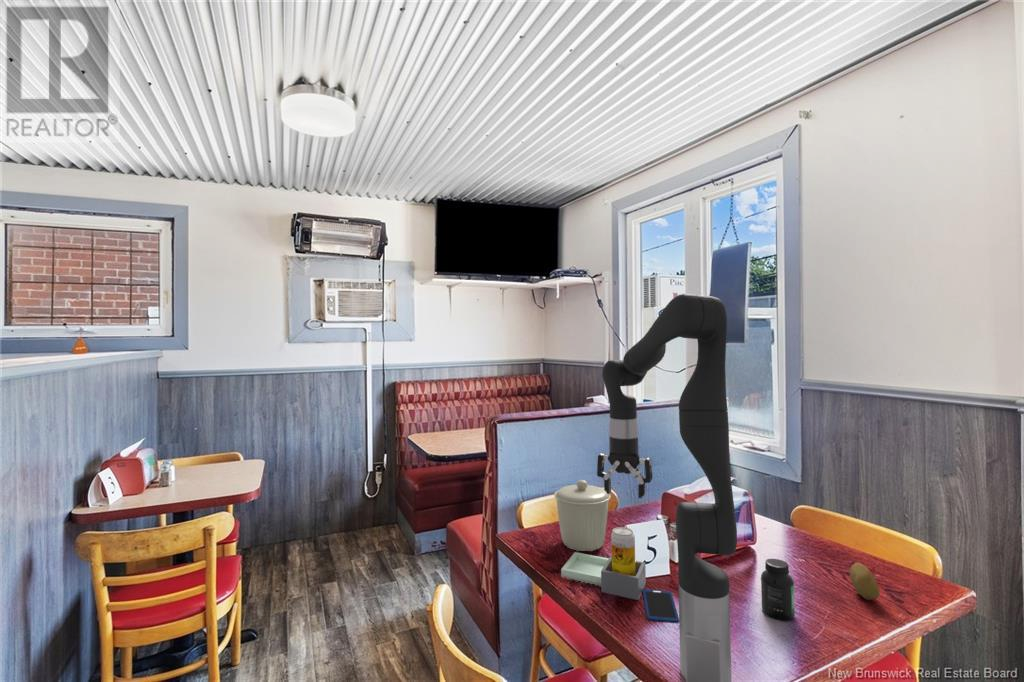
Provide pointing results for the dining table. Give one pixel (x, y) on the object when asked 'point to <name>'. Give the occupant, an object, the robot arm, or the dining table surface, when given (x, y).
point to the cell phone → (660, 606)
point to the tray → (584, 568)
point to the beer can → (623, 551)
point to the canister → (582, 515)
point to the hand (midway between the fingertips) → (624, 495)
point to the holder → (623, 581)
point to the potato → (864, 581)
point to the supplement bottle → (777, 590)
